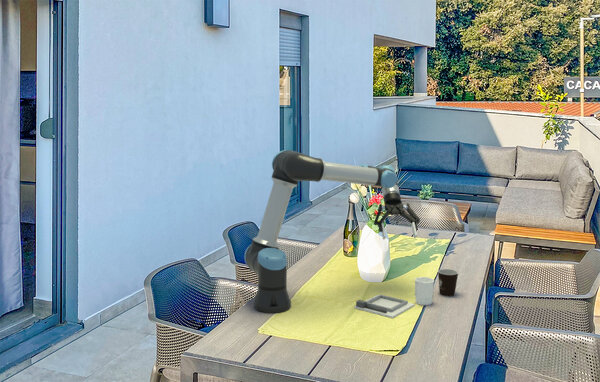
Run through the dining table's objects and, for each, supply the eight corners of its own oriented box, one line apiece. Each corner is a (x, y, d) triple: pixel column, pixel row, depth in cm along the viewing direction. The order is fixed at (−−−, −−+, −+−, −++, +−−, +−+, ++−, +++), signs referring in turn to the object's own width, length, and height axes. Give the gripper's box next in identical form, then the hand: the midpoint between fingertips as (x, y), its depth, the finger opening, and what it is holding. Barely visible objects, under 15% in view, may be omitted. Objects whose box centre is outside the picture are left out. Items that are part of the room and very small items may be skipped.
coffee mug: (457, 297, 270) (458, 275, 268) (437, 296, 272) (438, 274, 270) (456, 289, 281) (457, 267, 279) (436, 288, 283) (437, 266, 281)
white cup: (434, 306, 260) (435, 282, 258) (415, 305, 260) (416, 282, 258) (431, 299, 268) (432, 277, 266) (412, 299, 268) (413, 276, 266)
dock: (354, 308, 257) (354, 301, 256) (377, 296, 271) (377, 290, 270) (392, 318, 246) (392, 311, 245) (414, 305, 260) (414, 299, 259)
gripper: (416, 200, 285) (426, 240, 273) (362, 201, 282) (370, 242, 270) (420, 190, 279) (430, 231, 267) (365, 192, 276) (373, 233, 264)
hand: (400, 237), depth 268 cm, fingers open, 13 cm apart
